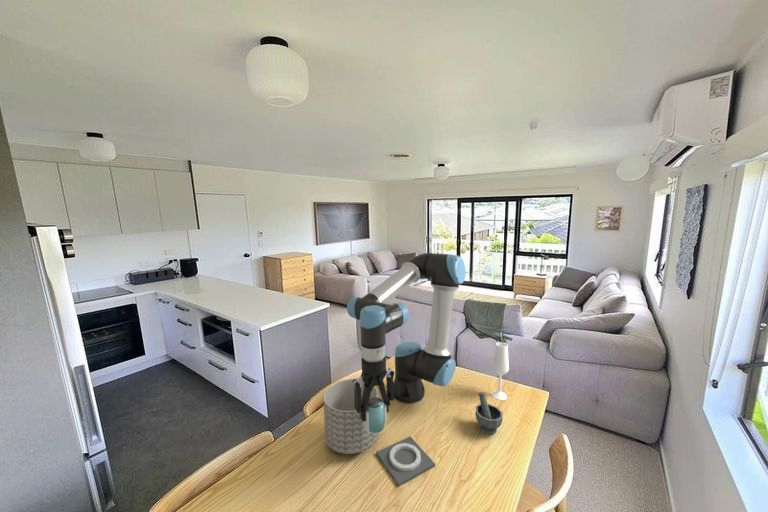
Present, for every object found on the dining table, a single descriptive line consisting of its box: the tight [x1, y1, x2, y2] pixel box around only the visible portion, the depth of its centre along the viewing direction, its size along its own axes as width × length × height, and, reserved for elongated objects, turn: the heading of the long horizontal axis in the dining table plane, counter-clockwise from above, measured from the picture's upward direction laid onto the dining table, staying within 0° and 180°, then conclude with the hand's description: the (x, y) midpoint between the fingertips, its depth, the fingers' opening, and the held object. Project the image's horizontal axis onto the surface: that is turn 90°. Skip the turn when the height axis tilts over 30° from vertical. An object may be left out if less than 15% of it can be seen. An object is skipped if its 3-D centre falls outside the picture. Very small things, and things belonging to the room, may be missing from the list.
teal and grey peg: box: [367, 397, 385, 434], centre depth 92 cm, size 6×6×9 cm
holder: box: [376, 436, 436, 487], centre depth 97 cm, size 14×14×2 cm
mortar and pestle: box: [475, 391, 503, 435], centre depth 111 cm, size 11×9×12 cm
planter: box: [322, 378, 379, 455], centre depth 104 cm, size 19×19×18 cm
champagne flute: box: [490, 341, 510, 401], centre depth 130 cm, size 7×7×24 cm
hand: (375, 425), depth 93 cm, fingers closed on teal and grey peg, 5 cm apart
